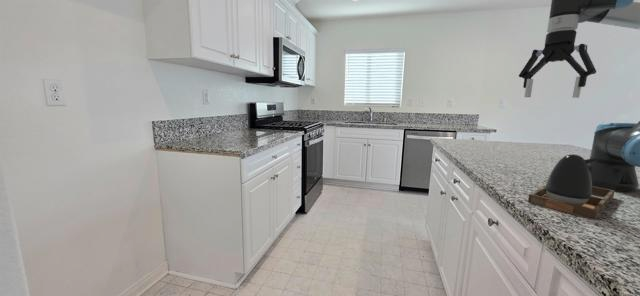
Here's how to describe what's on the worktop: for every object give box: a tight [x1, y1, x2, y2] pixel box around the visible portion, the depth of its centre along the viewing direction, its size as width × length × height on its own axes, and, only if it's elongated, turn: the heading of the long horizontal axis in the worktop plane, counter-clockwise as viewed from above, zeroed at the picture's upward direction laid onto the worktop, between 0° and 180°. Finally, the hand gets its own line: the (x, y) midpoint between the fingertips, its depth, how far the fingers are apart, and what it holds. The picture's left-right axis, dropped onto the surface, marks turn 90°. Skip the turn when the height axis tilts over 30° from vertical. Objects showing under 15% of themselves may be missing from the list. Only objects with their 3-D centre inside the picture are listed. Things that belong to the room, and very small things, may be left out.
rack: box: [527, 184, 616, 221], centre depth 84 cm, size 29×15×2 cm, turn 126°
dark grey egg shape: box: [544, 153, 596, 206], centre depth 79 cm, size 10×10×15 cm
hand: (549, 97), depth 92 cm, fingers open, 13 cm apart
